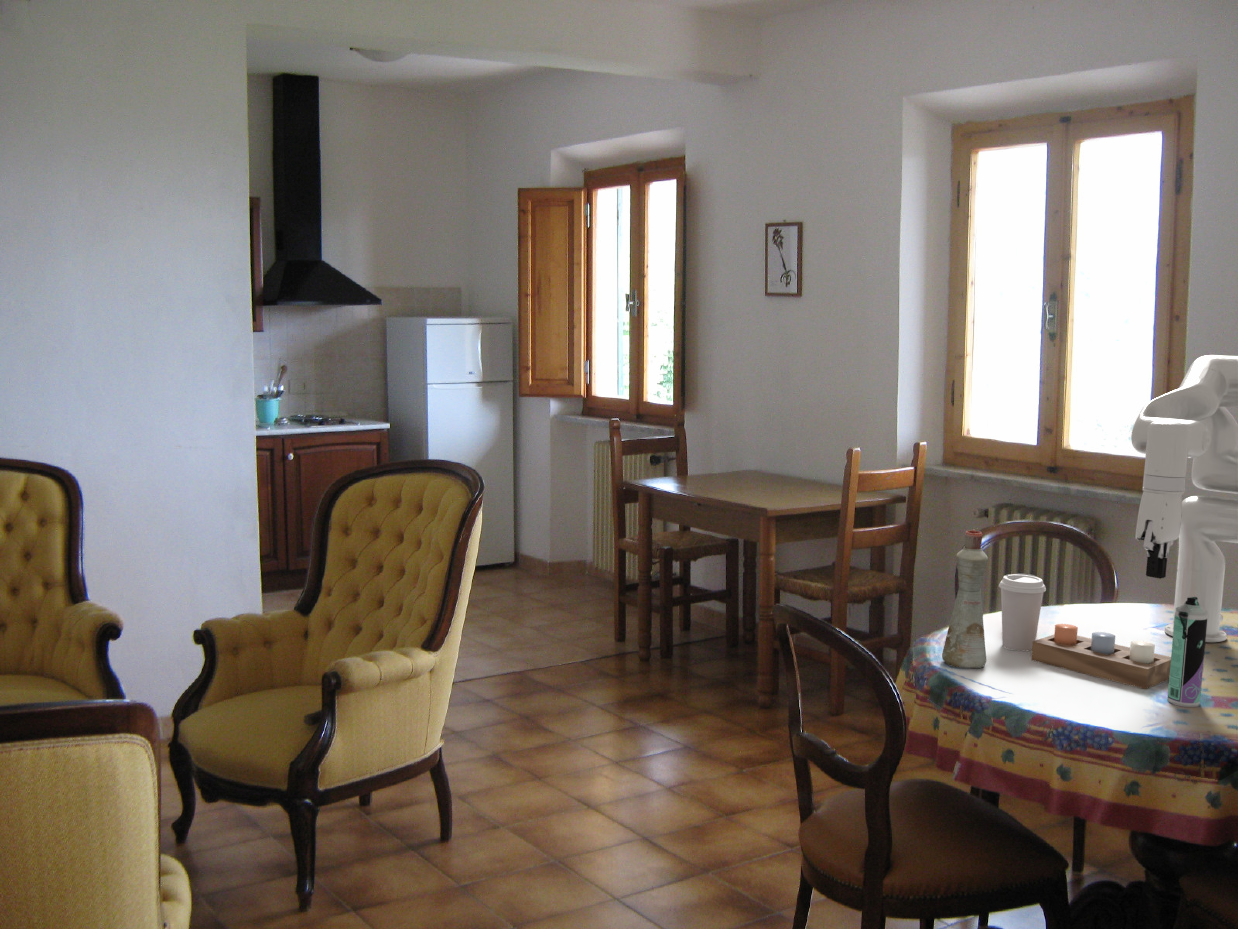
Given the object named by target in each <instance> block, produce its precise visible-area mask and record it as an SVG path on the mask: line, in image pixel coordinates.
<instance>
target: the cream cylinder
mask: <svg viewBox="0 0 1238 929" xmlns="http://www.w3.org/2000/svg"><path fill="white" fill-rule="evenodd" d="M1129 647H1130V656H1129V660H1132V661H1137V662H1141V663H1145V664H1151V663H1153V662H1154V653H1155V648H1156V646H1155V644H1154V643H1153V642H1148V641H1144V640H1133V641H1130V646H1129Z"/></svg>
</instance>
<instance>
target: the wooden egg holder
mask: <svg viewBox="0 0 1238 929" xmlns="http://www.w3.org/2000/svg"><path fill="white" fill-rule="evenodd" d="M1091 640H1092V638H1090V637H1086V636H1081V635H1077V644H1075V645H1072V646H1069V645H1065V644H1061V643H1057V642H1054V634H1051V635H1048V636H1044V637H1042V638H1039V639H1036V640H1035V641H1033V642H1032V650H1031V659H1030V660H1031V661H1033V662H1036V663H1041V664H1044V665H1049V666H1052V667H1057V668H1060V669H1064V670H1067V671H1068V670H1069V671H1072V672H1076V673H1081V674H1085V675H1088V676H1092V677H1095V678H1100V679H1104V680H1108V681H1112V682H1115V683H1119V684H1124V685H1127V686H1132V687H1135V688H1139V689H1143V690H1147V689H1150V688H1152V687H1155V686H1157V685H1160V684H1162V683H1164V682H1167V681H1169V676H1170V665H1171V656H1169V655H1163V654H1159V653H1155V652H1154V662H1153V663H1151V664H1145V663H1141V662H1137V661H1132V660H1129V656H1130V646H1125V645H1121V644H1116V643H1115V647H1114V653H1113V654H1110V655H1107V654H1103V653H1099V652H1095V651H1091Z"/></svg>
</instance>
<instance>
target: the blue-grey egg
mask: <svg viewBox="0 0 1238 929" xmlns="http://www.w3.org/2000/svg"><path fill="white" fill-rule="evenodd" d="M1091 639H1092V640H1091V651H1095V652H1099V653H1103V654H1107V655H1110V654H1113V653H1114V647H1115V644H1116V635H1115V634H1113V633H1109V632H1105V631H1104V632H1103V631H1098V632H1097V631H1095V632H1092V633H1091Z"/></svg>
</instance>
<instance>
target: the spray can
mask: <svg viewBox="0 0 1238 929" xmlns="http://www.w3.org/2000/svg"><path fill="white" fill-rule="evenodd" d="M1197 600H1198V598H1197V597H1190V598H1187V601H1186V602H1185V603H1184V605H1182V606H1180V607H1177V608H1176V612H1175V618H1174V630H1173V636H1172V642H1171V652H1170V654H1171V655H1170V657H1171V665H1170V676H1169V680H1168V688H1167V689H1168V690H1167V701H1168V702H1169V703H1171V704H1173V705H1175V706H1180V707H1185V708H1186V707H1187V708H1196V707H1199V706H1200V704H1201V694H1202V682H1203V672H1204V660H1205V659H1204V658H1205V649H1206V642H1205V640H1206V629H1207V618H1208V616H1207V611H1206V610H1204V609H1203V608H1202V607H1200V606H1201V605H1200V604H1199V603H1198V602H1197Z"/></svg>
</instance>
